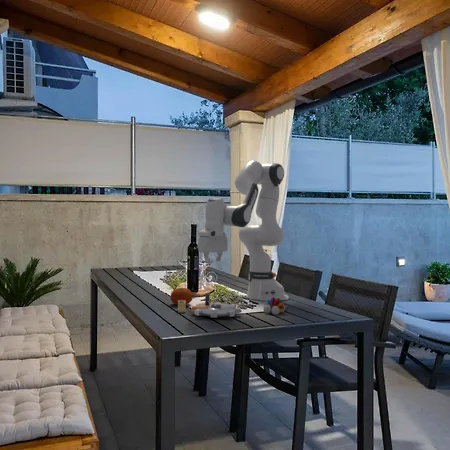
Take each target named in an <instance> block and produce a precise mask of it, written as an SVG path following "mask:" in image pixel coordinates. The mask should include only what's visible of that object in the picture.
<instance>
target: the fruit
mask: <svg viewBox="0 0 450 450" xmlns="http://www.w3.org/2000/svg"><path fill="white" fill-rule="evenodd" d="M178 300H186V305H188V304H190V303H191V302H192V300H193V293H192V291H191V290H190V289H189V288H186V287H179V288H174V289H173V290H172V291H171V293H170V301H171V302H172V304H174V305H177V306H178Z"/></svg>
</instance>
